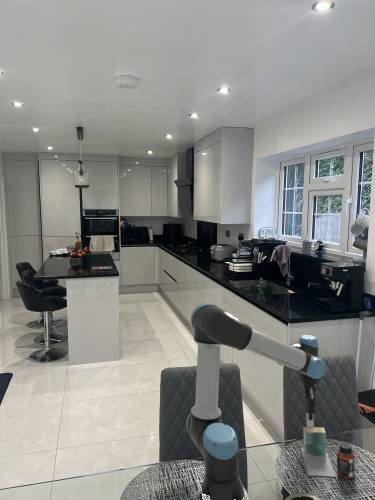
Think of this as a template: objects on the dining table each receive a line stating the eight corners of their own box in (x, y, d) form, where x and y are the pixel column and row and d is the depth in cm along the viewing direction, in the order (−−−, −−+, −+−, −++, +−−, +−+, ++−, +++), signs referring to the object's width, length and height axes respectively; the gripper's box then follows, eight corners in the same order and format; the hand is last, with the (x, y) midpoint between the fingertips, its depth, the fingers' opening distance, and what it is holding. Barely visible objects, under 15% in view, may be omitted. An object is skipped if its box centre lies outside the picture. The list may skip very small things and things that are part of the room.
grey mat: (307, 475, 135) (307, 474, 135) (300, 449, 150) (300, 448, 150) (335, 477, 133) (335, 476, 133) (325, 450, 149) (325, 449, 149)
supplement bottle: (356, 480, 131) (356, 450, 130) (339, 479, 132) (338, 449, 131) (352, 469, 137) (352, 441, 136) (335, 468, 138) (335, 439, 137)
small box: (305, 455, 146) (304, 431, 145) (303, 450, 149) (303, 426, 148) (326, 456, 144) (325, 432, 143) (324, 451, 148) (323, 427, 147)
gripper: (321, 379, 146) (322, 434, 148) (315, 366, 159) (316, 417, 161) (302, 378, 147) (303, 434, 149) (297, 366, 160) (298, 417, 162)
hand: (310, 425), depth 155 cm, fingers closed
